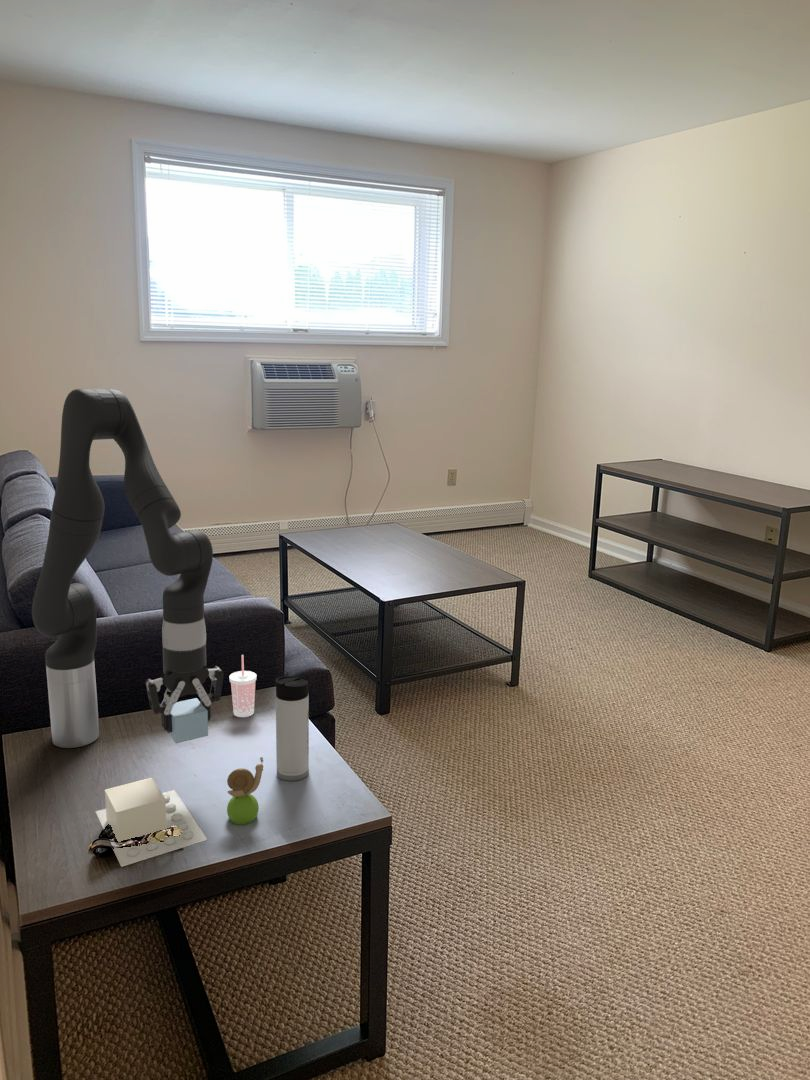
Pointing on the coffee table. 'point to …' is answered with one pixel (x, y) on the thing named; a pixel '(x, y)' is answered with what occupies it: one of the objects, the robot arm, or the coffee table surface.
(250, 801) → the snail figurine
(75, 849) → the coffee table surface
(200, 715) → the blue brick
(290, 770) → the travel mug
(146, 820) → the base brick
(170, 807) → the build plate
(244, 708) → the beverage cup
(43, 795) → the coffee table surface
